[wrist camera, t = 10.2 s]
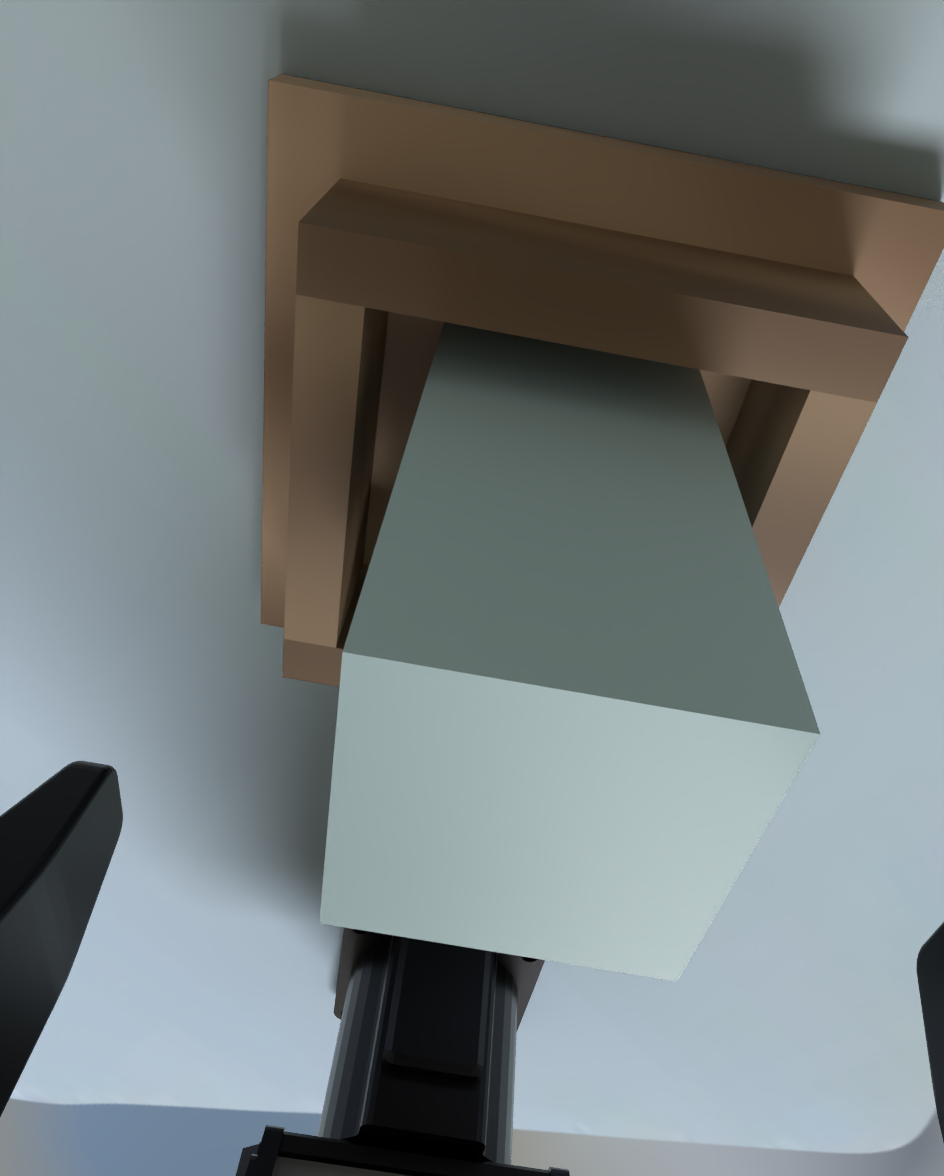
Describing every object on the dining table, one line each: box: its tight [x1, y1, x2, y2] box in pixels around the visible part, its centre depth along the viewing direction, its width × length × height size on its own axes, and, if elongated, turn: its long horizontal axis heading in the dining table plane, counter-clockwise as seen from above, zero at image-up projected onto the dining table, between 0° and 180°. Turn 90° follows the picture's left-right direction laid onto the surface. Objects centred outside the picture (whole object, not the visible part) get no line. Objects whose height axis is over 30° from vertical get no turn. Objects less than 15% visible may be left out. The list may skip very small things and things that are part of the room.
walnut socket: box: [261, 74, 944, 687], centre depth 16 cm, size 11×11×4 cm
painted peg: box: [319, 322, 820, 982], centre depth 13 cm, size 5×5×9 cm
